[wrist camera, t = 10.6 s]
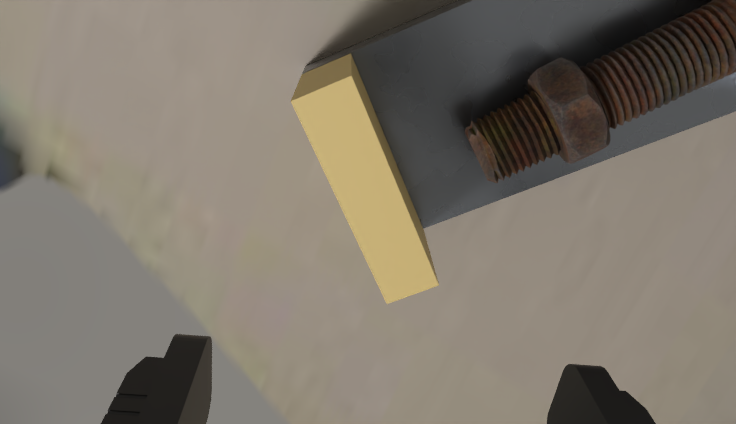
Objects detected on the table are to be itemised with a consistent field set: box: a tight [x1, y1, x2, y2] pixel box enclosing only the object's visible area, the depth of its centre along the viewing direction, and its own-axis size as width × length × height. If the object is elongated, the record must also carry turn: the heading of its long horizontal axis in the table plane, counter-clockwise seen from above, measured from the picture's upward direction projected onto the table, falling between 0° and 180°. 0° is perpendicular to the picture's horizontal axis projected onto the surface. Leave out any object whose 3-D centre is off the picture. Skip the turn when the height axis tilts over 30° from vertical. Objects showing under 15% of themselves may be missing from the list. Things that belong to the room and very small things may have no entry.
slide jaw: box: [291, 53, 439, 304], centre depth 25 cm, size 10×2×6 cm, turn 22°
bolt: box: [465, 0, 736, 183], centre depth 24 cm, size 6×5×15 cm
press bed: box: [302, 0, 736, 228], centre depth 25 cm, size 10×24×8 cm, turn 112°
